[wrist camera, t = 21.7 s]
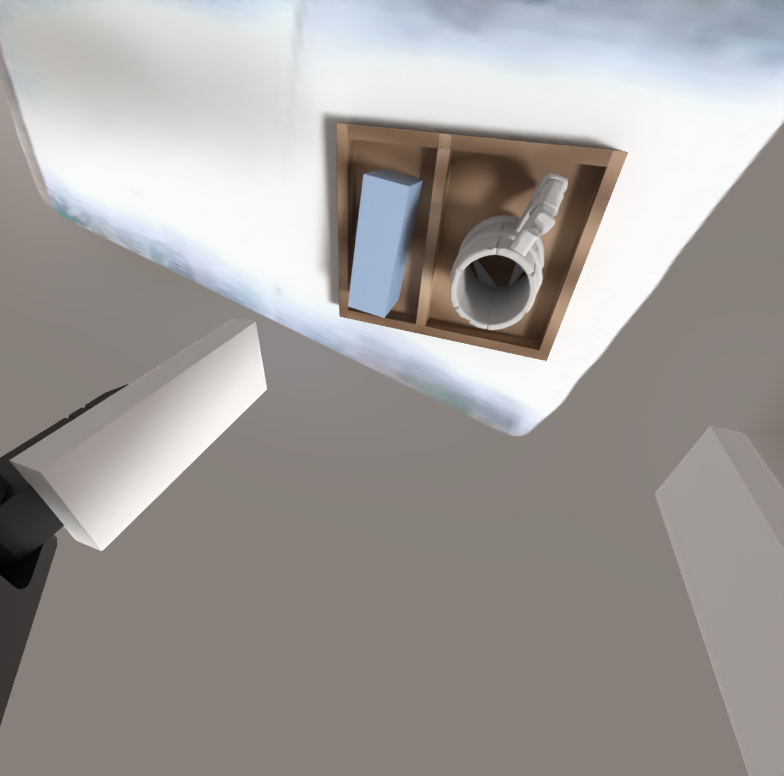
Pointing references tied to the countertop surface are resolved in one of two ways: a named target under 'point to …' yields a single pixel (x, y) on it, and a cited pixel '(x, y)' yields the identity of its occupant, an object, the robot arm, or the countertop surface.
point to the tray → (474, 224)
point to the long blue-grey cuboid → (383, 239)
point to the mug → (516, 242)
